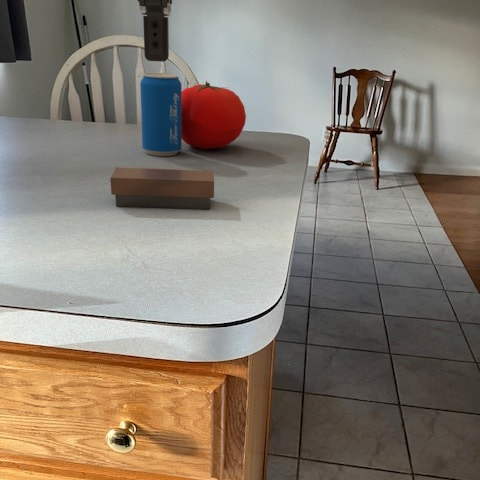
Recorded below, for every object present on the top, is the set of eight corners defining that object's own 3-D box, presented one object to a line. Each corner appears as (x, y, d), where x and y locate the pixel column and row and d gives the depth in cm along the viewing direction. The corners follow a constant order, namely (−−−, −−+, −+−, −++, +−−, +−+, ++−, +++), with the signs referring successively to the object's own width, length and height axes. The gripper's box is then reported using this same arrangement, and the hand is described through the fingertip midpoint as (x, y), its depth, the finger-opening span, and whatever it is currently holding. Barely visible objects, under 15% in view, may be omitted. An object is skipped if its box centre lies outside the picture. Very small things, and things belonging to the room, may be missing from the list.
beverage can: (159, 158, 87) (158, 77, 81) (134, 151, 91) (131, 73, 85) (189, 153, 91) (189, 76, 85) (164, 147, 95) (163, 72, 89)
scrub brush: (112, 207, 64) (110, 177, 62) (117, 195, 68) (116, 167, 67) (213, 210, 65) (214, 181, 63) (212, 198, 69) (213, 170, 68)
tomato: (168, 139, 101) (168, 77, 96) (232, 139, 104) (235, 79, 99) (182, 155, 90) (182, 86, 84) (253, 155, 93) (257, 88, 88)
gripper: (115, -159, 49) (125, 54, 57) (89, -213, 37) (106, 63, 46) (198, -152, 50) (196, 58, 58) (198, -203, 38) (195, 68, 46)
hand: (156, 60), depth 52 cm, fingers closed
